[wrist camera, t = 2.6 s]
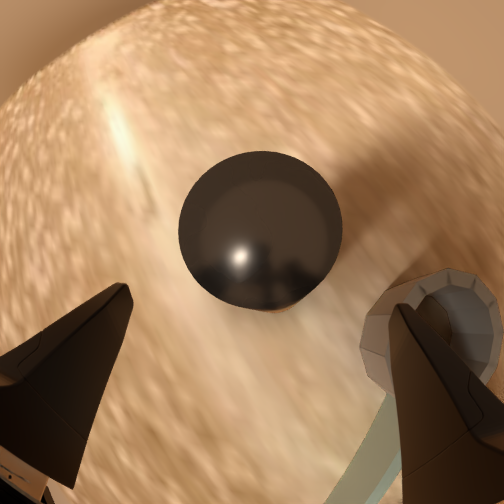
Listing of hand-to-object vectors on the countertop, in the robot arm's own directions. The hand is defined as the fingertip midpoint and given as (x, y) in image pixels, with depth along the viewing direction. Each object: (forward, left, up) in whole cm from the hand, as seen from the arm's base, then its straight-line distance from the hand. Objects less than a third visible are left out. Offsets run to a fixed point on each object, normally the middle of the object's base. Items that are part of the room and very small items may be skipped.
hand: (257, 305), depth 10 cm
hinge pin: (+2, 0, -9) cm, 10 cm away
